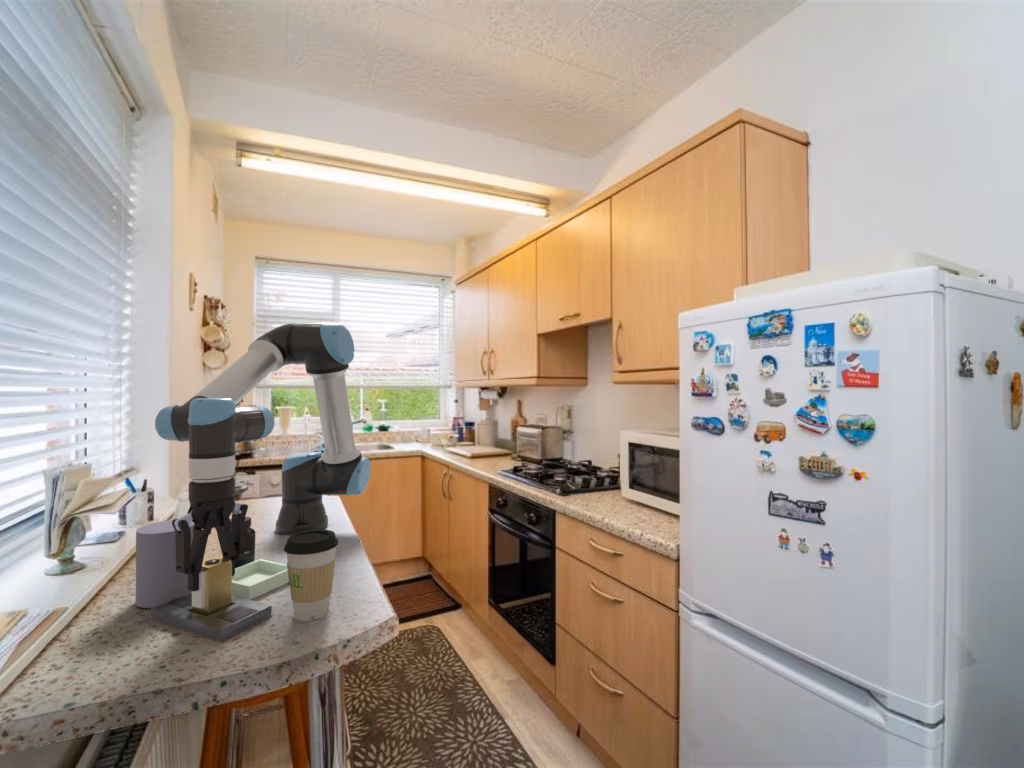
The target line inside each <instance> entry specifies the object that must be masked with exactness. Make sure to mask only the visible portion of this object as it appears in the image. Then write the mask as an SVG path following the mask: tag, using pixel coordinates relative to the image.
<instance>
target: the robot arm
mask: <svg viewBox="0 0 1024 768" xmlns="http://www.w3.org/2000/svg"><path fill="white" fill-rule="evenodd" d="M354 357H355V343H354V340H353V337H352V335H351V332H350V331H349V329H348V328H347V327H346V326H345V325H343V324H342V323H338V322H337V323H335V322H327V321H326V322H325V321H324V322H304V323H303V322H302V323H301V322H299V323H297V322H296V323H295V322H291V323H286V324H284V325H280V326H277V327H275V328H273V329H270V330H269V331H268V332H265V333H264V334H262V335H261V336H259V337H257V338H256V339H255V340H254V341H252V342H251V343H249V346H248V347H247V352H245V353H244V354H243V355H242V356H240V358H238V359H237V360H236V361H235V362H233V363H232V364H231V365H230V366H228V367H227V368H226V369H225V370H224V371H223V372H221V373H220V374H219V375H217V376H216V377H215V378H213V380H211V381H210V382H209V383H207V384H206V386H204V387H202V389H200V390H199V391H198V392H197V393H196V394H194V395H193V396H192V397H191V398H190V399H189V400H187V401H186V402H184V403H183V404H182V405H179V404H175V405H170V406H169V405H168V406H166V407H163V408H162V409H160V410H159V411H158V413H157V414H156V416H155V419H154V428H155V430H156V432H157V433H156V434H158V436H159V437H160V438H161V439H163V440H165V441H172V442H173V441H176V442H181V443H183V442H188V448H189V449H188V451H189V452H188V479H190V480H191V481H189V483H188V501H189V508H188V510H187V513H186V514H185V515H183V516H182V517H181V518H174V519H172V520H173V521H172V525H173V528H174V530H175V543H176V571H177V572H180V573H184V574H188V590H189V591H192V606H194V607H198V608H204V607H205V572H204V571H201V568H202V563H203V561H204V557H205V553H206V548H207V544H208V539H209V536H210V535H211V534H212V529H215V530H216V534H217V535H216V536H217V538H218V542H219V547H220V551H221V552H220V553H221V554H222V555H221V556H222V558H225V559H230V560H231V595H232V576H234V574H235V561H238V560H239V555H240V554H243V553H244V552H245V517H247V516H246V515H247V512H248V509H249V505H248V504H246V503H240V502H239V503H238V502H237V503H236V501H235V499H234V497H235V495H236V478H234V477H233V476H234V475H236V444H238V443H245V442H251V441H253V442H257V441H258V440H260V439H264V438H266V437H267V436H269V435H270V434H272V432H273V430H274V427H275V417H274V414H273V412H272V411H271V410H270V409H269V408H268V407H265V406H264V405H263V406H262V405H256V404H253V405H252V404H249V405H238V404H239V403H240V402H241V401H242V400H243V399H244V398H245V397H246V396H247V395H248V394H249V393H250V392H252V390H254V389H255V387H257V385H259V384H260V383H261V382H262V381H263V380H264V379H265V378H266V377H267V376H268V375H269V374H270V373H272V372H277V371H279V370H281V368H282V367H285V366H289V365H305V366H304V367H305V372H306V374H307V375H309V376H310V377H312V379H313V384H314V391H315V397H316V403H317V409H318V414H319V419H320V426H321V427H320V428H321V433H322V438H323V444H324V449H325V451H324V452H321V451H314V452H312V451H311V452H307V453H306V452H305V453H300V454H294V455H290V456H287V457H285V458H284V459H283V460H282V464H281V465H282V467H281V472H280V473H281V507H280V510H279V513H278V517H277V520H276V522H275V532H276V533H278V534H281V535H293V534H295V533H299V532H303V531H308V530H320V529H322V530H324V529H325V528H327V527H328V526H329V516H328V515H327V512H326V509H325V505H324V503H323V495H324V496H330V495H331V496H338V495H339V496H347V497H349V496H359V495H361V494H362V493H363V492H364V491H365V490H366V488H367V486H368V484H369V480H370V475H371V461H370V459H369V457H366V456H363V455H362V450H361V448H360V447H358V446H357V445H356V443H355V438H354V437H355V436H354V431H353V423H352V417H351V409H350V402H349V395H348V391H347V384H346V375H345V373H346V371H347V370H348V369H349V368H350V365H349V364H350V363H352V362H353V360H354ZM230 517H231V518H230ZM230 519H232V534H231V529H230V527H231V522H230ZM191 520H192V521H193V523H194V527H193V534H194V536H193V540H192V545H191V531H190V528H189V527H191V526H192V525H191Z"/></svg>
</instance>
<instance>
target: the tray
mask: <svg viewBox="0 0 1024 768" xmlns="http://www.w3.org/2000/svg"><path fill="white" fill-rule="evenodd" d="M288 583H289V578H288V569H287V563H281V562H276V561H274V560H267V559H262V558H259V559H257V560H256V559H255V561H254V562H251V563H248V564H246V565H243V566H240V567H238V568H235V574H234V576H232V595H233V596H237V597H241V598H245V599H249V600H253V599H256V598H258V597H260V596H262V595H264V594H266V593H268V592H271V591H274V590H275V589H277V588H279V587H281V586H284V585H286V584H288Z"/></svg>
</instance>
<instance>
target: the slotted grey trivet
mask: <svg viewBox="0 0 1024 768" xmlns="http://www.w3.org/2000/svg"><path fill="white" fill-rule="evenodd" d="M272 610H273V607H272V604H268V603H264V602H260V601H256V600H253V599H251V600H249V599H245V598H241V597H237V596H233V595H231V606H229V607H227V608H224V609H222V610H220V611H218V612H216V613H213V614H211V615H209V616H203V615H200V614H196V613H193V606H192V593H189V594H187V595H184V596H182V597H179V598H177V599H174V600H172V601H169V602H166V603H164V604H161V605H159V606H156V607H154V608H151V609H150V620H152V621H156V622H158V623H162V624H165V625H168V626H171V627H175V628H177V629H180V630H184V631H187V632H189V633H193V634H196V635H200V636H203V637H206V638H209V639H213V640H216V641H219V642H224V641H225V640H227V639H229V638H231V637H233V636H235V635H237V634H239V633H241V632H243V631H245V630H247V629H249V628H251V627H252V626H255V625H256V624H258V623H259V624H260V622H262V621H264V620H267V619H268V618H270V617H272V614H273V612H272Z"/></svg>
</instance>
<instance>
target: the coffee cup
mask: <svg viewBox="0 0 1024 768" xmlns="http://www.w3.org/2000/svg"><path fill="white" fill-rule="evenodd" d="M286 540H287V541H286V543H285V545H284V546H283V551H284V552H285V553H286V559H287V563H286V564H287V569H288V578H289V582H288V583H289V584H288V585H289V592H290V593H289V594H290V599H291V601H292V603H291V604H292V611H293V618H294V619H295V620H297V621H300V622H311V621H316V620H319V619H322V618H323V617H324V615H325V616H326V615H327V614H328V613H329V610H330V609H329V608H330V600H331V595H332V590H333V582H334V576H335V573H334V572H335V568H336V567H335V566H336V565H335V564H336V551H337V546H338V545H339V540H338V537H337V536H336V533H335V531H333V530H330V529H320V530H308V531H303V532H299V533H295V534H290V536H288V537H287V539H286ZM318 618H319V619H318ZM315 619H316V620H315Z"/></svg>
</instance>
